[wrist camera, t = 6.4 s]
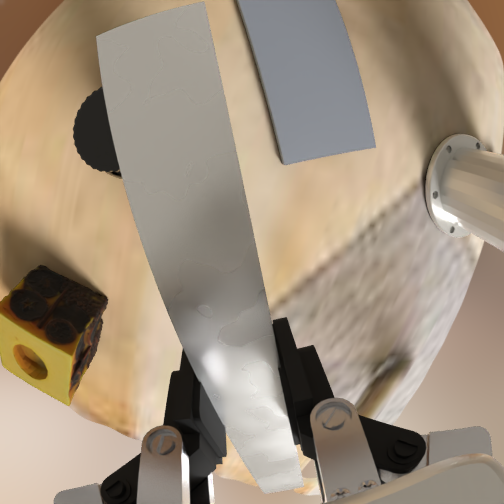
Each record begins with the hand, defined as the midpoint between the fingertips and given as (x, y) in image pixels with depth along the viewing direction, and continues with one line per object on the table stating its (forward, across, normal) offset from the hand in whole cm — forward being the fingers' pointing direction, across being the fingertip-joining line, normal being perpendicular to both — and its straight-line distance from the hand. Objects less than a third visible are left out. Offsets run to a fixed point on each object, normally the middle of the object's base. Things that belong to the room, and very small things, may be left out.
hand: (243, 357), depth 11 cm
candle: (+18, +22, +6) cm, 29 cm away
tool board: (+17, -9, -19) cm, 27 cm away
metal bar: (+2, 0, 0) cm, 2 cm away
